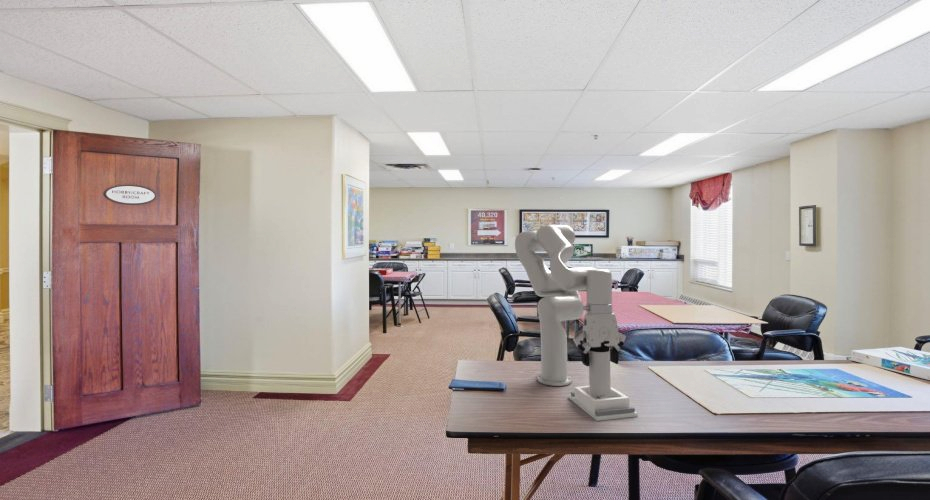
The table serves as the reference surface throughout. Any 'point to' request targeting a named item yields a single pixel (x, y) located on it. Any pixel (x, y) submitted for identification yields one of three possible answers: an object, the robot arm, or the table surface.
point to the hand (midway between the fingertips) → (600, 363)
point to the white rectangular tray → (603, 404)
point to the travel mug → (600, 371)
